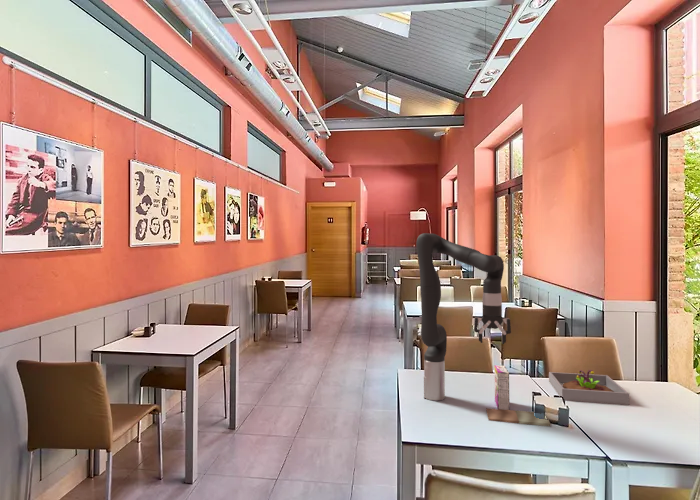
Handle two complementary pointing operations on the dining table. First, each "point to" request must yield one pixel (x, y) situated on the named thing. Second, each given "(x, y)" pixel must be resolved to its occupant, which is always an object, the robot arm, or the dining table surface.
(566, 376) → the planter frame
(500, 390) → the candy bar box
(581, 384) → the plant
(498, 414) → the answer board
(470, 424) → the dining table surface
